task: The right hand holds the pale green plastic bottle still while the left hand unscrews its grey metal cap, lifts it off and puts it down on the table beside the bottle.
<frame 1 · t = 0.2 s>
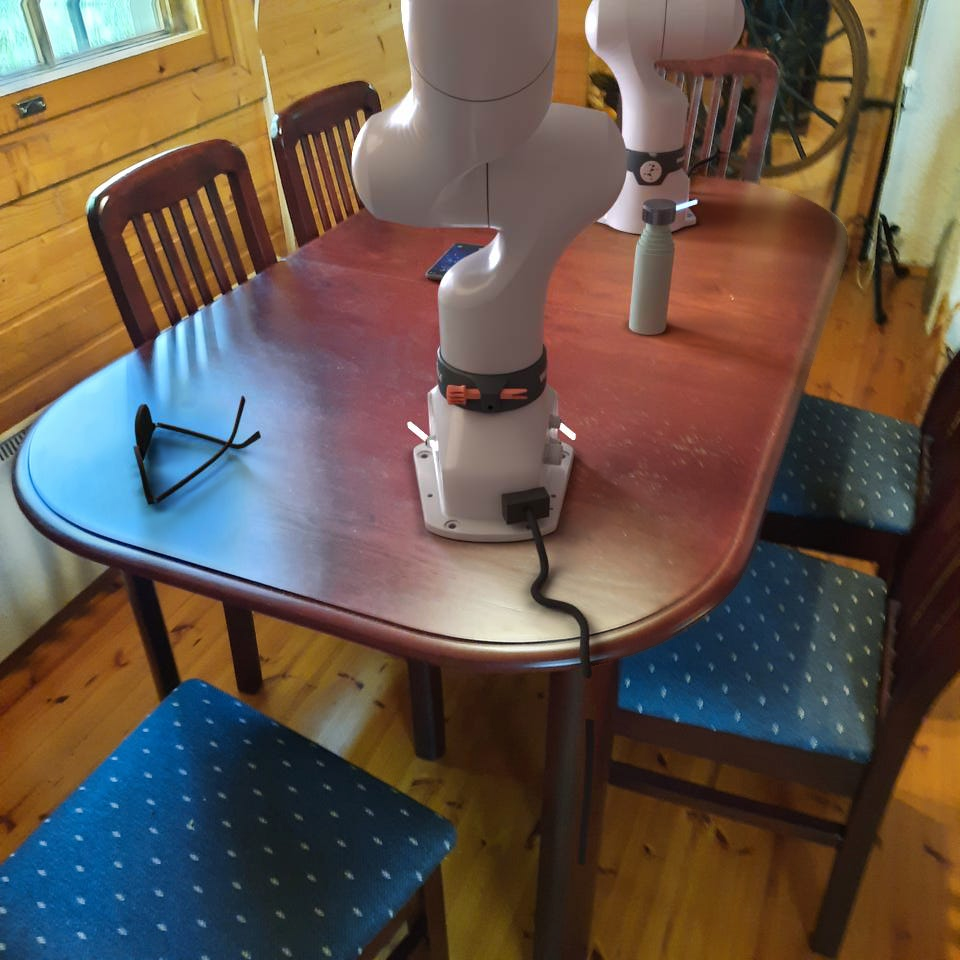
smartphone: (459, 266, 147), on the table
cap: (659, 206, 116), point 18 cm above the table, screwed on, not yet turned
bottle: (647, 326, 127), on the table
sunglasses: (202, 458, 102), on the table
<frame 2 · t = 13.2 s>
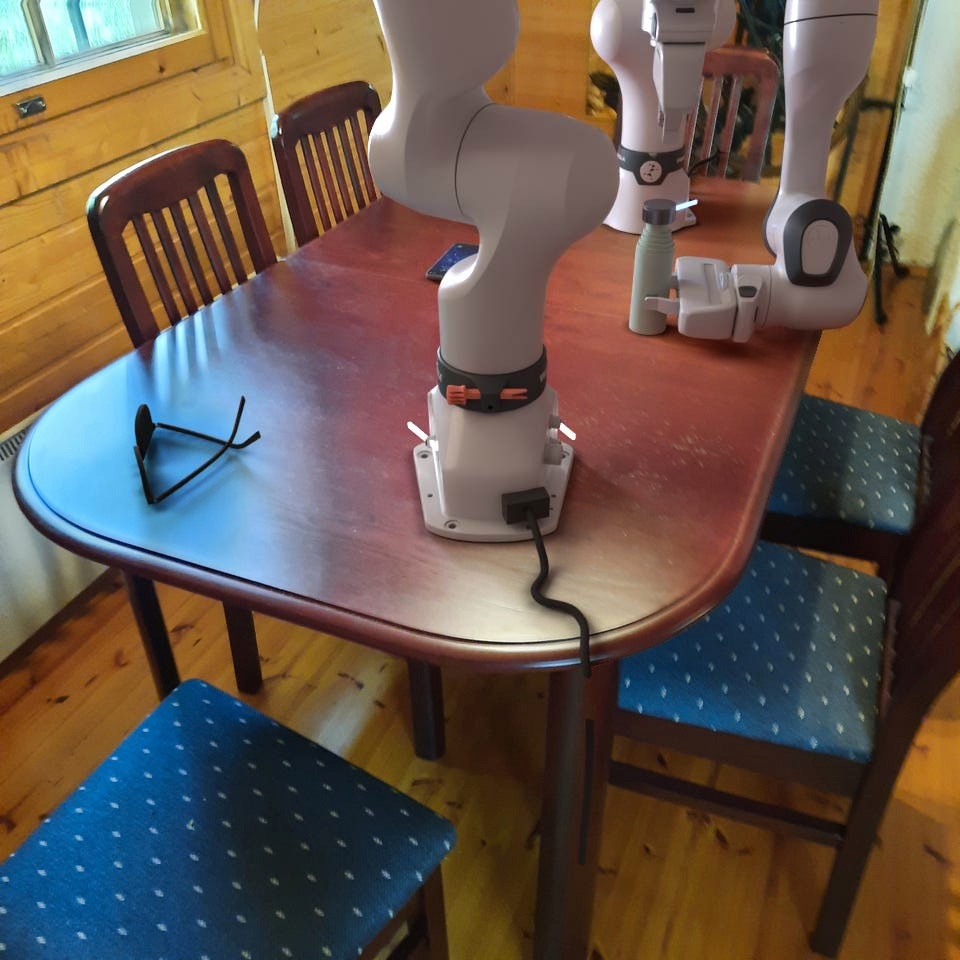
left hand: (666, 134, 110), 27 cm above the table, tool pointing down, fingers open, 7 cm apart
right hand: (644, 292, 124), 6 cm above the table, tool horizontal, fingers closed on bottle, 5 cm apart
bottle: (647, 326, 127), on the table, touching right hand
everything else where it was.
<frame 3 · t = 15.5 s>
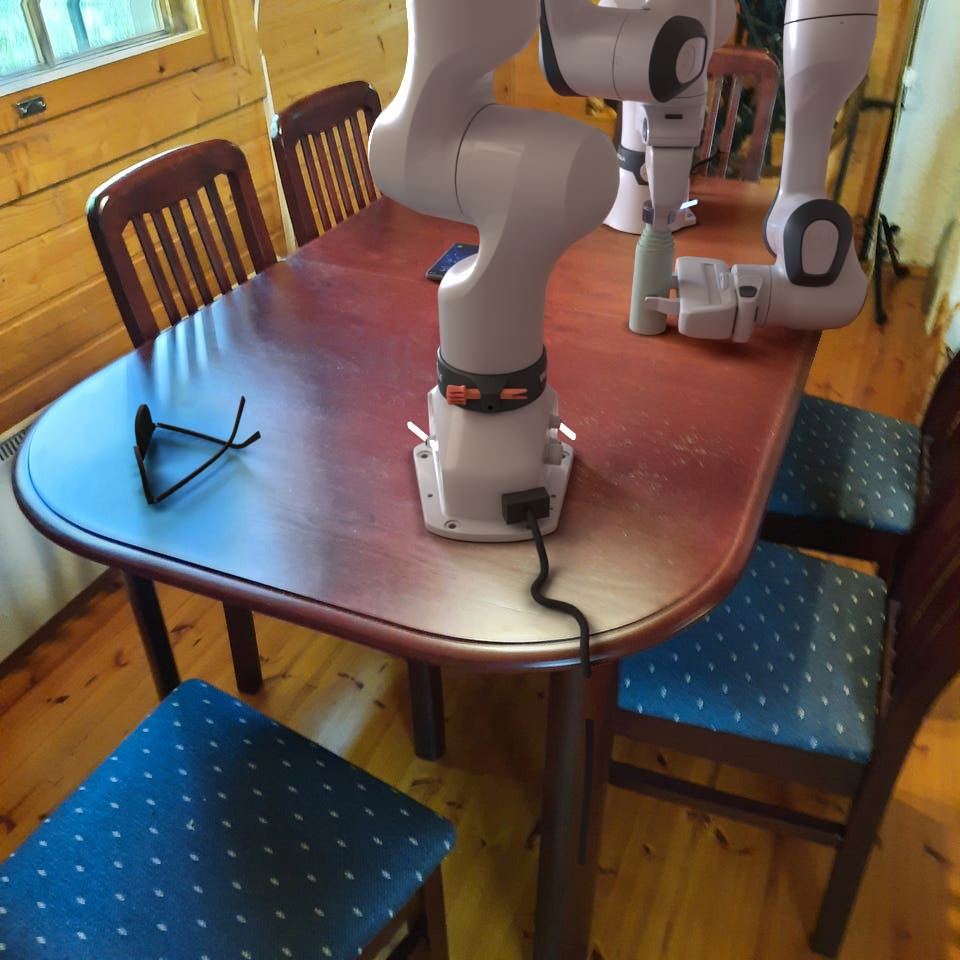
left hand: (658, 221, 117), 16 cm above the table, tool pointing down, fingers closed on cap, 4 cm apart
right hand: (644, 292, 124), 6 cm above the table, tool horizontal, fingers closed on bottle, 5 cm apart
cap: (659, 206, 116), point 18 cm above the table, screwed on, not yet turned, touching left hand
bottle: (647, 326, 127), on the table, touching right hand
everything else where it was.
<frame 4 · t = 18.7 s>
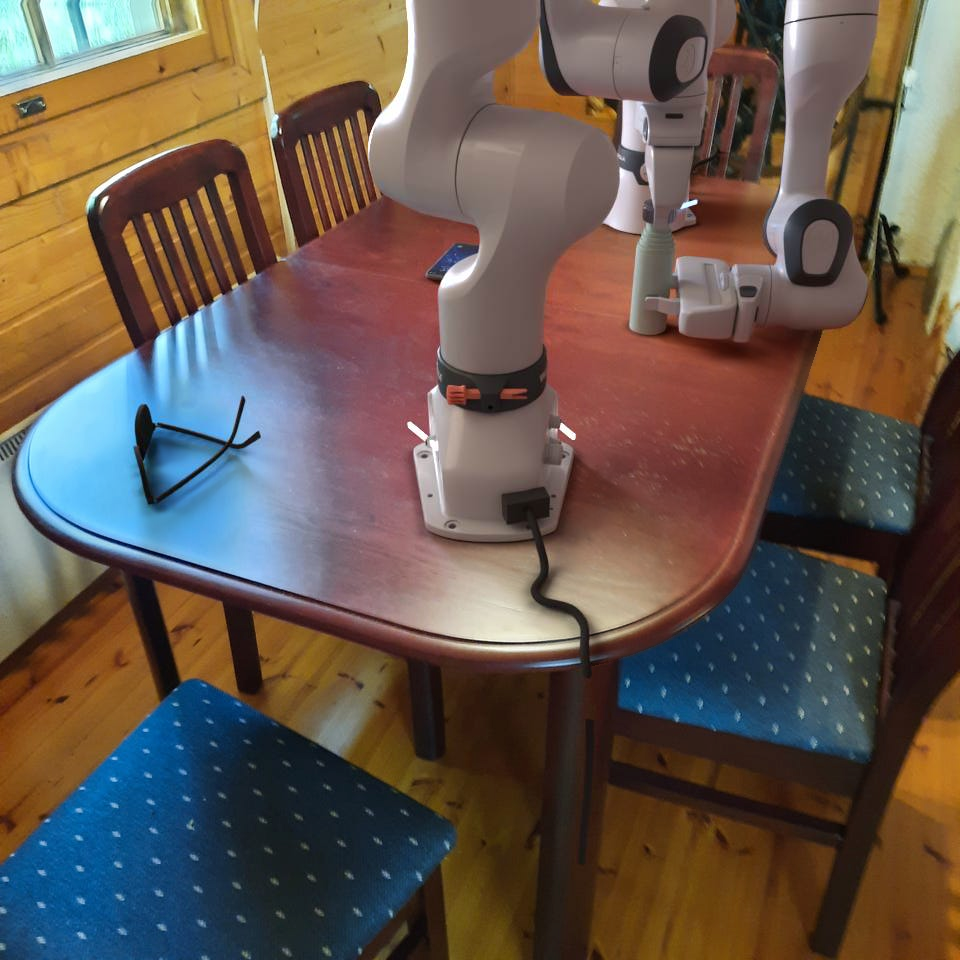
left hand: (658, 220, 117), 16 cm above the table, tool pointing down, fingers closed on cap, 4 cm apart
right hand: (644, 292, 124), 6 cm above the table, tool horizontal, fingers closed on bottle, 5 cm apart
cap: (660, 205, 116), point 18 cm above the table, turned 81° so far, risen 0.1 cm, still on its thread, touching left hand
bottle: (647, 326, 127), on the table, touching right hand
everything else where it was.
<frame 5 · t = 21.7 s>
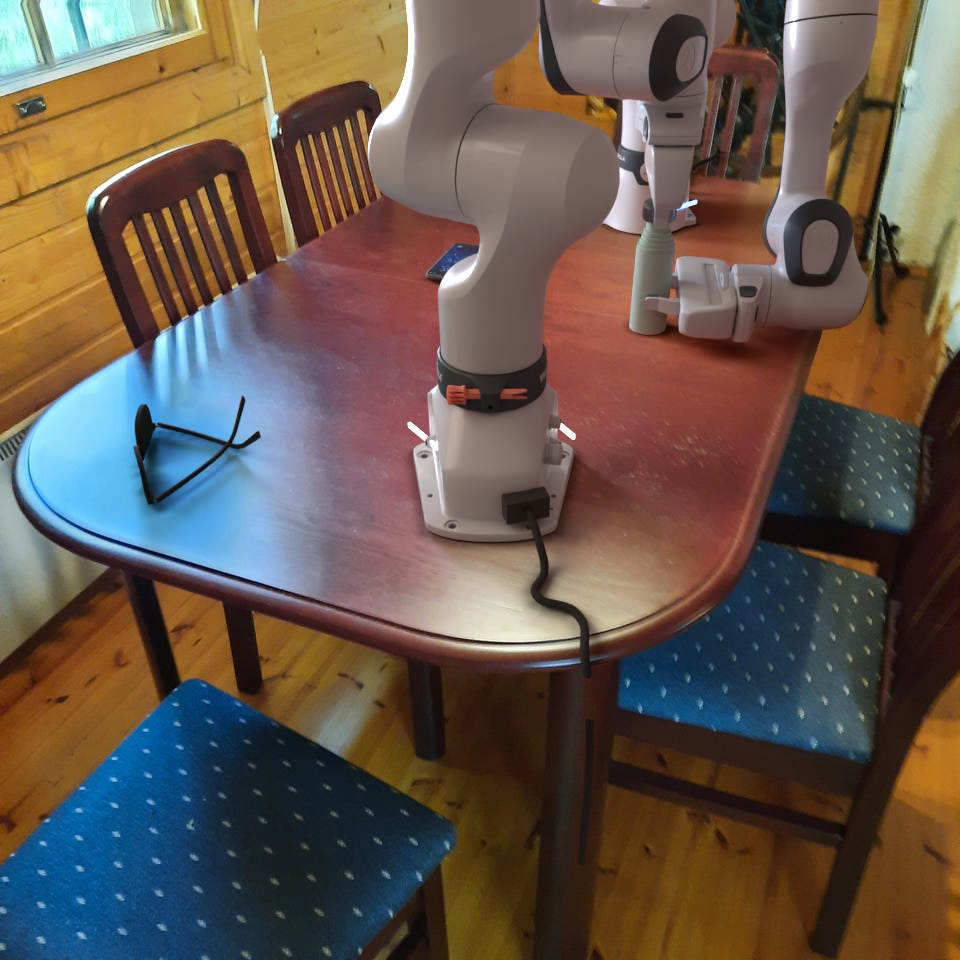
left hand: (658, 219, 117), 16 cm above the table, tool pointing down, fingers closed on cap, 4 cm apart
right hand: (644, 292, 124), 6 cm above the table, tool horizontal, fingers closed on bottle, 5 cm apart
cap: (660, 204, 116), point 18 cm above the table, turned 162° so far, risen 0.2 cm, still on its thread, touching left hand
bottle: (647, 326, 127), on the table, touching right hand
everything else where it was.
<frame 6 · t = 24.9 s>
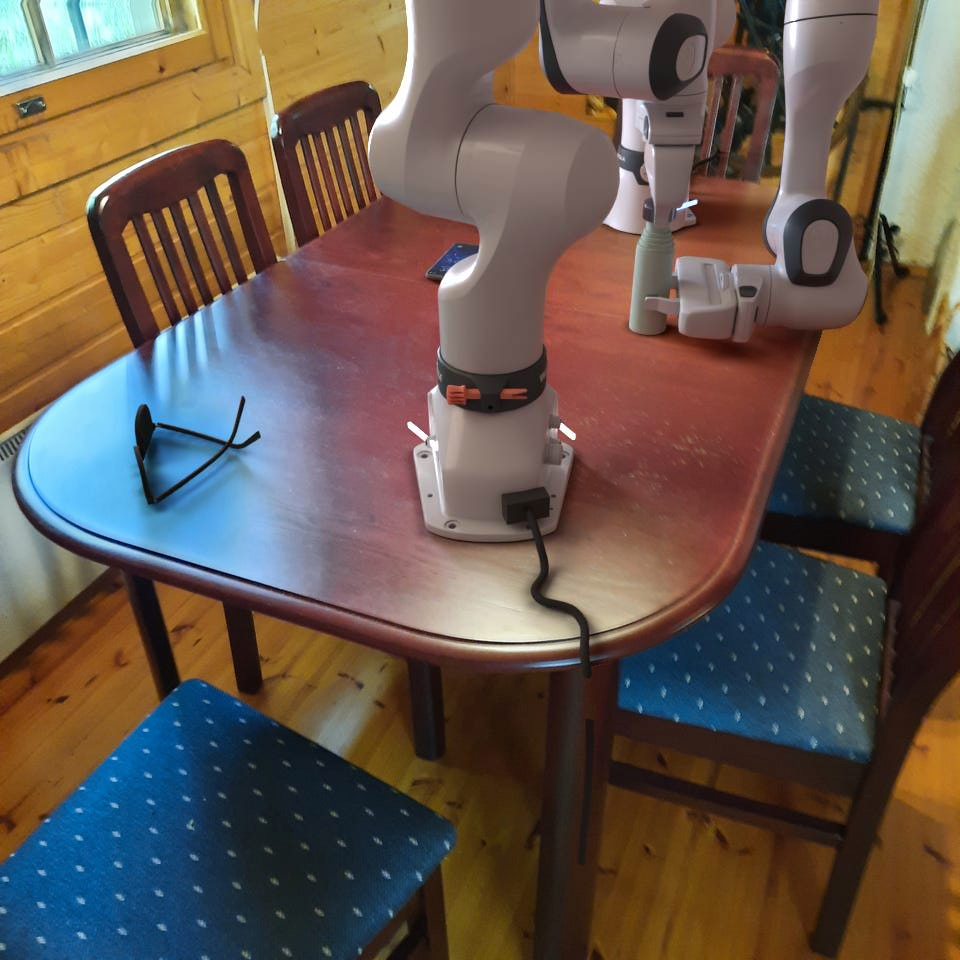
left hand: (658, 219, 117), 16 cm above the table, tool pointing down, fingers closed on cap, 4 cm apart
right hand: (644, 292, 124), 6 cm above the table, tool horizontal, fingers closed on bottle, 5 cm apart
cap: (660, 204, 116), point 18 cm above the table, turned 243° so far, risen 0.2 cm, still on its thread, touching left hand
bottle: (647, 326, 127), on the table, touching right hand
everything else where it was.
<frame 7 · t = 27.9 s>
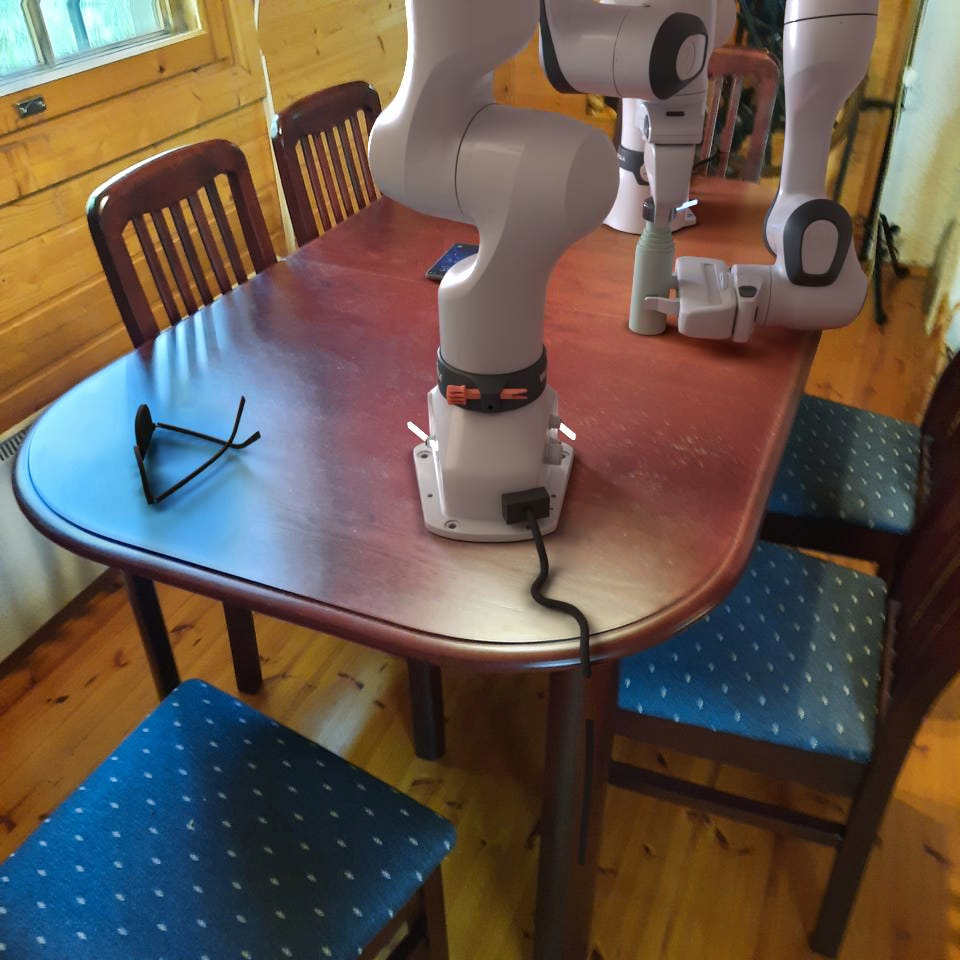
left hand: (658, 218, 117), 16 cm above the table, tool pointing down, fingers closed on cap, 4 cm apart
right hand: (644, 292, 124), 6 cm above the table, tool horizontal, fingers closed on bottle, 5 cm apart
cap: (660, 203, 116), point 18 cm above the table, turned 323° so far, risen 0.3 cm, still on its thread, touching left hand
bottle: (647, 326, 127), on the table, touching right hand
everything else where it was.
when the left hand's fingers open (2 cm above the table, at t = 37.1 s): cap drops 2 cm, point 2 cm above the table.
when the right hand's fingers open (6 cm above the table, at t = 38.3 s): bottle stays where it is, on the table.
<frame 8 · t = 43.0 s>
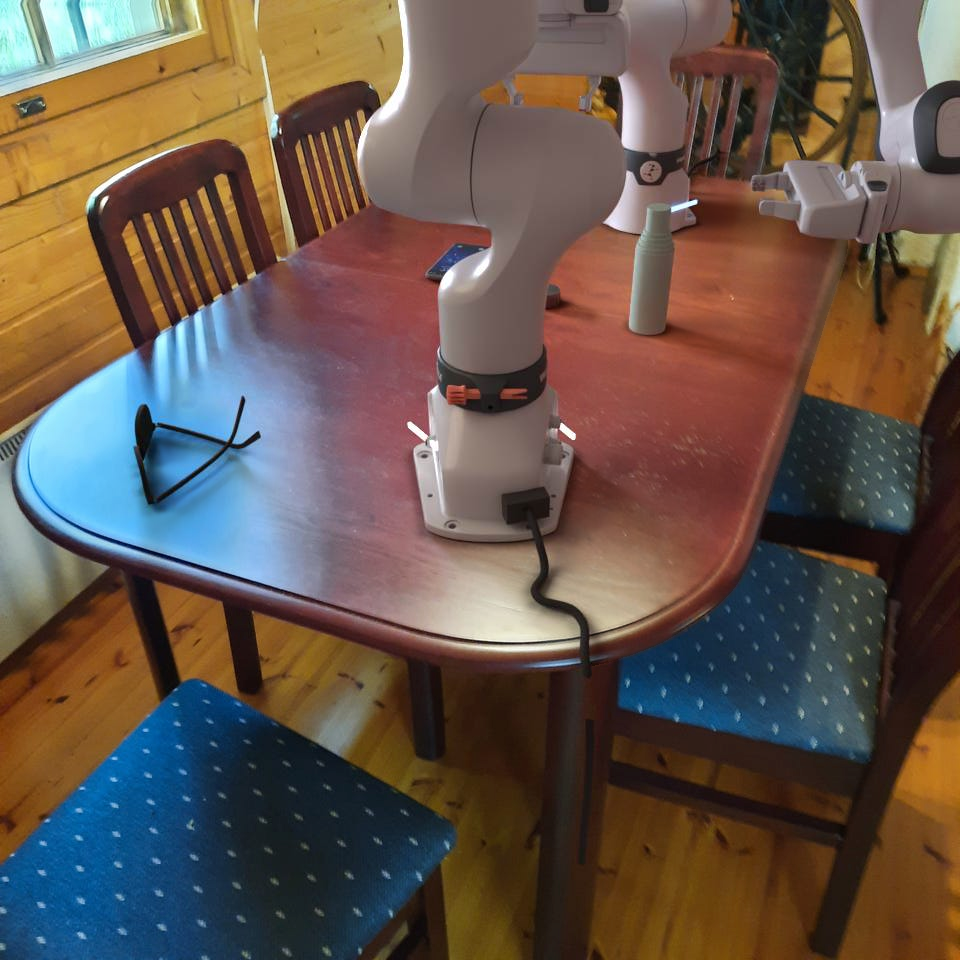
left hand: (550, 109, 117), 29 cm above the table, tool pointing down, fingers open, 8 cm apart
right hand: (755, 194, 113), 20 cm above the table, tool horizontal, fingers open, 8 cm apart
cap: (545, 291, 133), point 2 cm above the table, off its thread
bottle: (646, 327, 127), on the table
everything else where it was.
at the end: cap came off its thread; cap point 1.9 cm above the table; the left hand is holding nothing; the right hand is holding nothing; bottle tilted 0°; bottle moved 0.0 cm from its start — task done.
